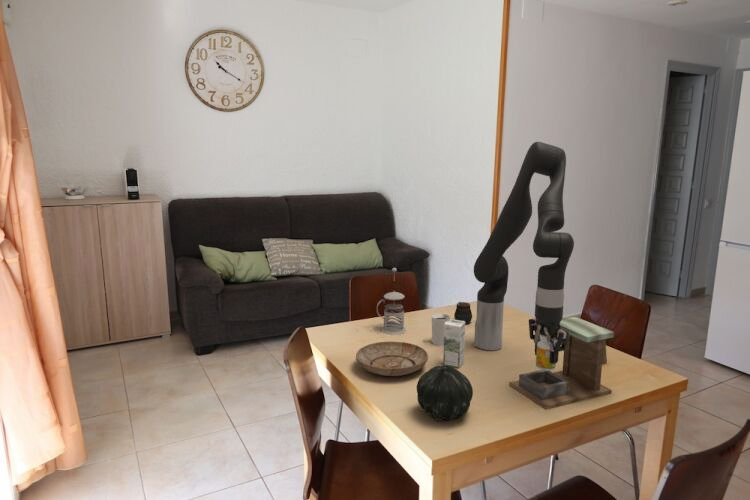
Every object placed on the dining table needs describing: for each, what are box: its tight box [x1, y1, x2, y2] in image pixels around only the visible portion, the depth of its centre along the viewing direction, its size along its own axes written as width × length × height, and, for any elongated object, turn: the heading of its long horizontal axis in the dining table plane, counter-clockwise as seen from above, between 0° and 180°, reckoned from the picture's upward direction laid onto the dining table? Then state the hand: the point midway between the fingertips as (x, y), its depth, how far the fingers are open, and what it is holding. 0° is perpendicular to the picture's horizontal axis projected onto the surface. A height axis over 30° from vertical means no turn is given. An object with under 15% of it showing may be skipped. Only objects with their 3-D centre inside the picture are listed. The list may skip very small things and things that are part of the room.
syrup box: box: [442, 318, 466, 369], centre depth 171 cm, size 6×6×14 cm
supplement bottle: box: [535, 334, 557, 372], centre depth 150 cm, size 5×5×10 cm
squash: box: [416, 365, 474, 421], centre depth 139 cm, size 14×15×15 cm
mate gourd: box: [454, 301, 473, 325], centre depth 212 cm, size 7×8×10 cm
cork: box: [602, 339, 608, 365], centre depth 174 cm, size 6×6×11 cm
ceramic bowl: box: [355, 341, 429, 377], centre depth 169 cm, size 23×24×5 cm
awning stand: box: [508, 316, 615, 410], centre depth 153 cm, size 24×16×18 cm, turn 113°
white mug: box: [431, 313, 451, 347], centre depth 190 cm, size 7×7×10 cm
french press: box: [376, 267, 407, 336], centre depth 202 cm, size 10×12×25 cm
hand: (545, 359), depth 150 cm, fingers closed on supplement bottle, 5 cm apart
